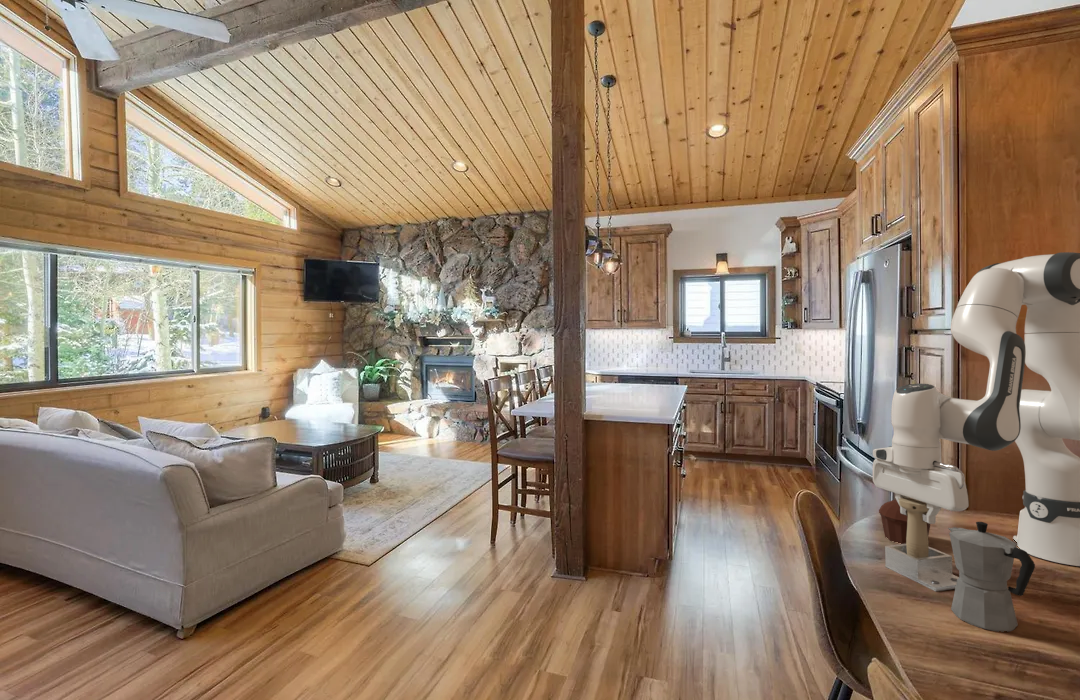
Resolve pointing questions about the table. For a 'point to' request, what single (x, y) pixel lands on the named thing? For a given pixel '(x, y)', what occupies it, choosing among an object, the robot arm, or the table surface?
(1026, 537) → the robot arm
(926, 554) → the handle
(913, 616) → the table surface
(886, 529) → the muffin
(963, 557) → the coffeepot
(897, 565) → the flanged open box
